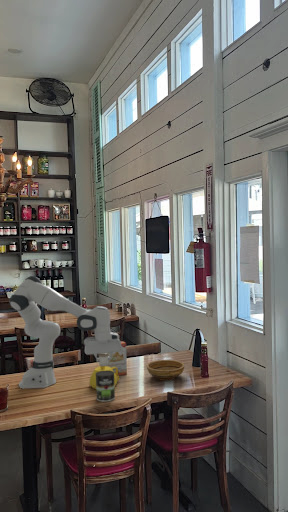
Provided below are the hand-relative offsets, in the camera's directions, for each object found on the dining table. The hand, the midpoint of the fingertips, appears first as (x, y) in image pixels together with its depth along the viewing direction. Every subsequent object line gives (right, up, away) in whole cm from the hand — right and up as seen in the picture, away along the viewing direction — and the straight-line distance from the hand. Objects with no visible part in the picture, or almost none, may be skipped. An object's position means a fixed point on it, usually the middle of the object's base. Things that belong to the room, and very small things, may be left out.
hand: (103, 360), depth 239 cm
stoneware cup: (0, -2, 0) cm, 2 cm away
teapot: (0, -21, +21) cm, 29 cm away
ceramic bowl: (+36, -19, +34) cm, 53 cm away
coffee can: (+1, -21, +1) cm, 21 cm away
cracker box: (+4, -20, +42) cm, 47 cm away
